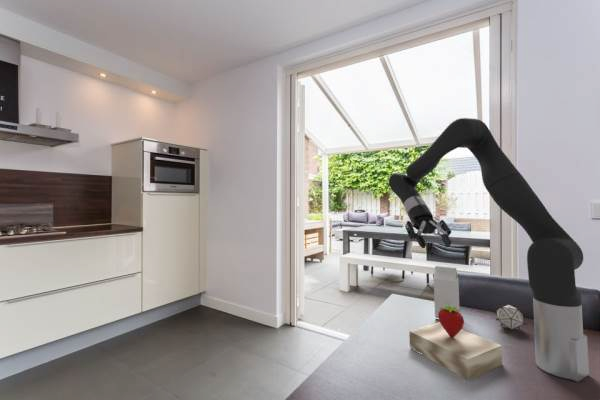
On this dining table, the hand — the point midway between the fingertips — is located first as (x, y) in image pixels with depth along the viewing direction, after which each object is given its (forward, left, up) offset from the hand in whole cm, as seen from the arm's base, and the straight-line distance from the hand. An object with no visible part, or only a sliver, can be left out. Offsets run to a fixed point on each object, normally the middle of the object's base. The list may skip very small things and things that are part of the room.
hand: (436, 246), depth 94 cm
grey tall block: (+7, -13, -29) cm, 33 cm away
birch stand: (-11, +9, -29) cm, 32 cm away
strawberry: (-10, +9, -24) cm, 27 cm away
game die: (-9, -23, -29) cm, 38 cm away
